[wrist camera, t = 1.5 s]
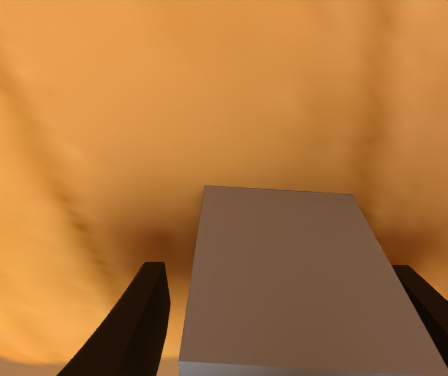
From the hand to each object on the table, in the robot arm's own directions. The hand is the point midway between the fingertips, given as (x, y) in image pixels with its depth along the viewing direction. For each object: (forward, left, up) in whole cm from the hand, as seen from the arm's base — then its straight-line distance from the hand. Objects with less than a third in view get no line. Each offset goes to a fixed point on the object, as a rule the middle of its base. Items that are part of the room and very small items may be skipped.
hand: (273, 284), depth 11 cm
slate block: (0, 0, -2) cm, 2 cm away
